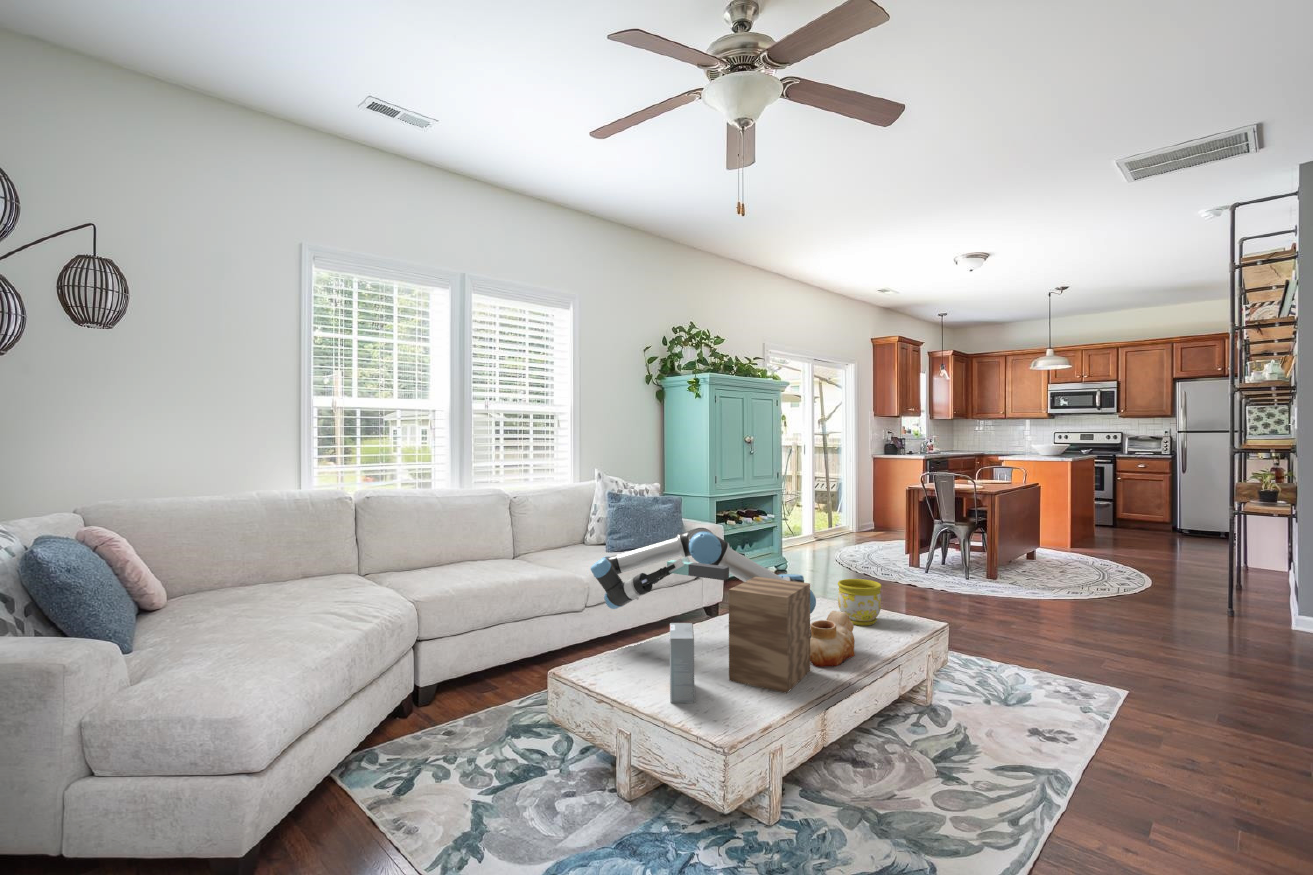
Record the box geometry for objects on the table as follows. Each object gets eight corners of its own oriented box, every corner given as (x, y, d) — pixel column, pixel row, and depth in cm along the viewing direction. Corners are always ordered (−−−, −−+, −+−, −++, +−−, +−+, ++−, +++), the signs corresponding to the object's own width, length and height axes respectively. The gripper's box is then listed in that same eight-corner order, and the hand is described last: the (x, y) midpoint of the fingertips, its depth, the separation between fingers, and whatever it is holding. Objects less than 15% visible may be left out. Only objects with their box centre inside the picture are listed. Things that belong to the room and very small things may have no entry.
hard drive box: (670, 683, 212) (670, 622, 212) (693, 683, 212) (693, 622, 211) (669, 703, 196) (669, 637, 196) (695, 703, 196) (694, 637, 196)
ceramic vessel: (863, 651, 242) (863, 611, 241) (834, 672, 221) (834, 628, 221) (828, 644, 250) (828, 605, 250) (797, 663, 230) (797, 620, 230)
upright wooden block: (755, 660, 233) (755, 576, 232) (810, 670, 222) (810, 583, 222) (728, 680, 214) (728, 589, 214) (787, 693, 203) (786, 597, 203)
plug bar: (666, 572, 237) (666, 561, 237) (672, 570, 240) (672, 559, 240) (723, 580, 225) (723, 568, 224) (728, 578, 228) (729, 566, 228)
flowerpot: (831, 616, 287) (831, 579, 287) (870, 614, 289) (870, 578, 289) (847, 628, 269) (847, 589, 269) (889, 626, 271) (889, 587, 271)
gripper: (655, 590, 252) (701, 566, 241) (630, 600, 238) (678, 574, 227) (646, 572, 254) (692, 547, 243) (621, 581, 239) (669, 555, 229)
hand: (685, 560), depth 235 cm, fingers closed on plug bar, 4 cm apart
